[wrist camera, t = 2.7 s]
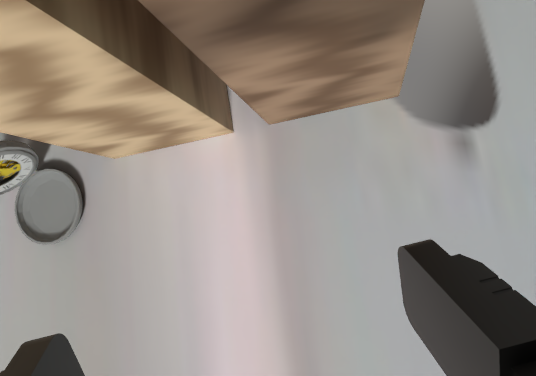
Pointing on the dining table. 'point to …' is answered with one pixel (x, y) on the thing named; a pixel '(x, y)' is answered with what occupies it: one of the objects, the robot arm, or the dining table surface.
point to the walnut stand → (298, 49)
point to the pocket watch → (39, 195)
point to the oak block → (103, 79)
